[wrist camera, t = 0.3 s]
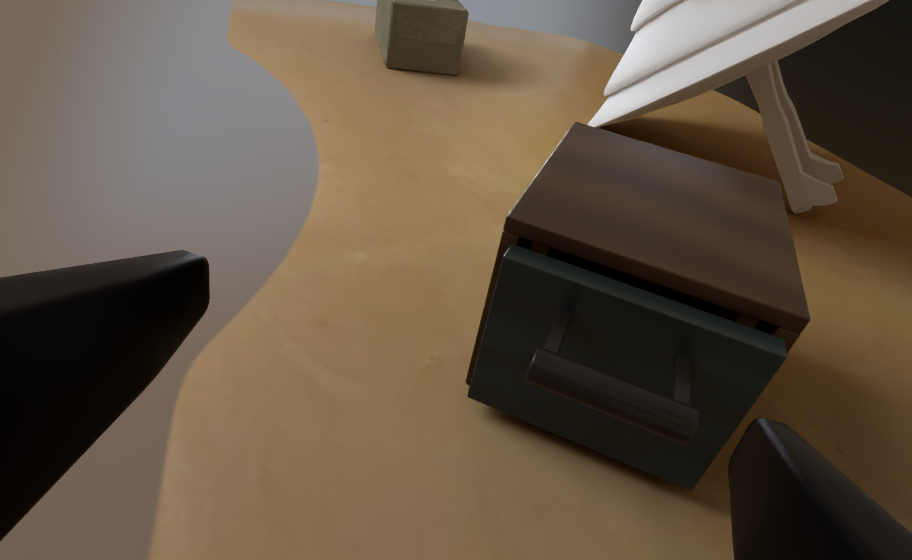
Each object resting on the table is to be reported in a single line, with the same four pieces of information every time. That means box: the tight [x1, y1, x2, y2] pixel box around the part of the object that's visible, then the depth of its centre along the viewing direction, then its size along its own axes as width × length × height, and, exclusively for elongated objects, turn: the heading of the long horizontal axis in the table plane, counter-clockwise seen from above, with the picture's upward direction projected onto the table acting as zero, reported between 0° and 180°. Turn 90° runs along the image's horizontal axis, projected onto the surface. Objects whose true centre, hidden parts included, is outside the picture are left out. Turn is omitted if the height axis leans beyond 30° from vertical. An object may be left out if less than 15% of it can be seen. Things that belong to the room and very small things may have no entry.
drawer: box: [467, 241, 787, 491], centre depth 28 cm, size 18×11×9 cm, turn 158°
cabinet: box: [466, 122, 810, 384], centre depth 32 cm, size 15×13×11 cm
